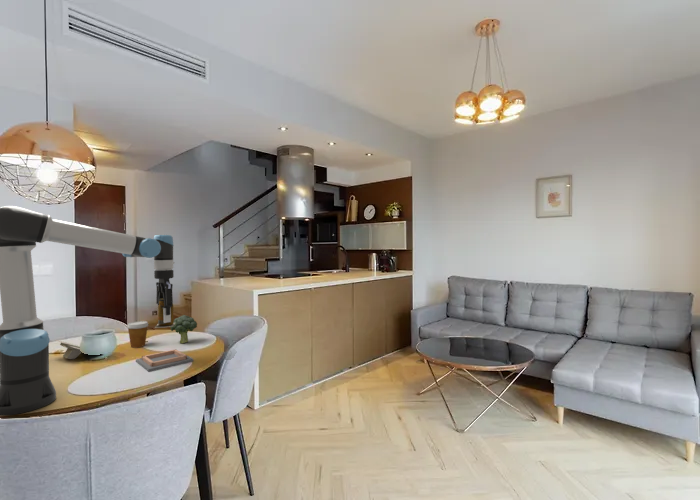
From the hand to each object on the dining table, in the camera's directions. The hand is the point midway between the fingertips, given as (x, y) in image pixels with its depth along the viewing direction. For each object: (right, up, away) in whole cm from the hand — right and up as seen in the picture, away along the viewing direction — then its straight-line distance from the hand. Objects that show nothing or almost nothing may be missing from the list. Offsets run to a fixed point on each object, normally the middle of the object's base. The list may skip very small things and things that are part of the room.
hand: (164, 321), depth 154 cm
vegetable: (-6, -18, +30) cm, 36 cm away
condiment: (+1, -2, 0) cm, 2 cm away
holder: (0, -18, 0) cm, 18 cm away
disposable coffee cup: (-27, -18, +24) cm, 40 cm away
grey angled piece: (-44, -18, +7) cm, 48 cm away
